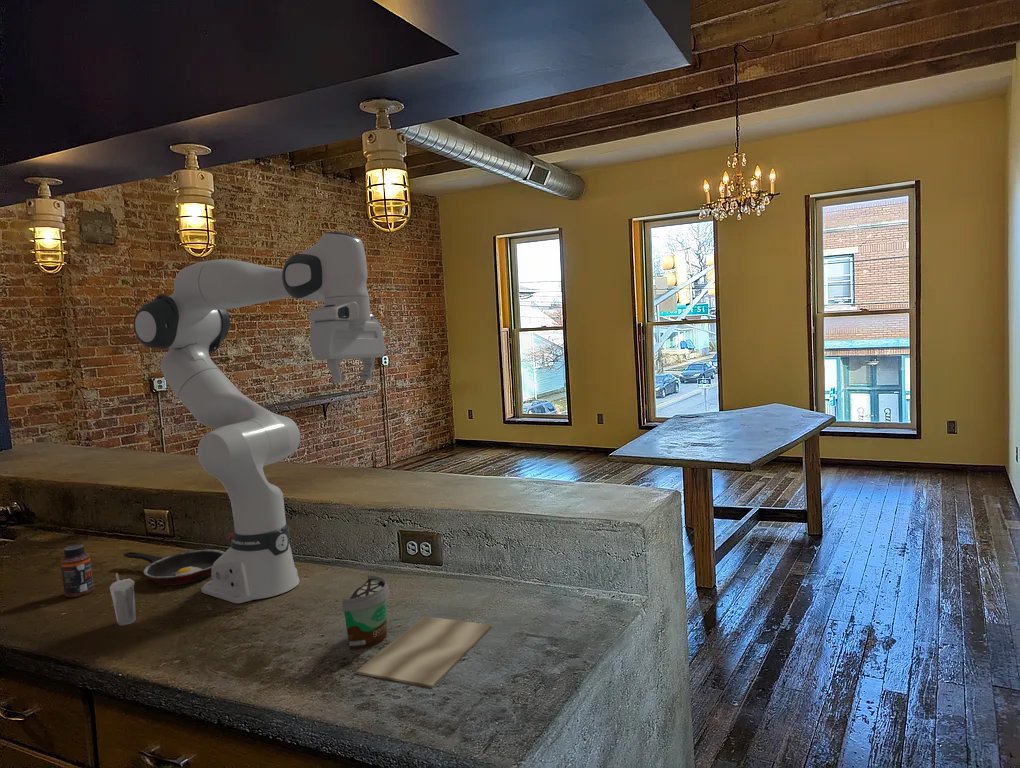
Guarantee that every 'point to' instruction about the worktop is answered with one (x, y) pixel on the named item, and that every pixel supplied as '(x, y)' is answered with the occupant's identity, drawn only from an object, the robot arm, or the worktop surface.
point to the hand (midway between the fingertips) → (353, 381)
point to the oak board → (425, 651)
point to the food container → (367, 614)
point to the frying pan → (179, 566)
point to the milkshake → (124, 600)
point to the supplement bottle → (76, 572)
